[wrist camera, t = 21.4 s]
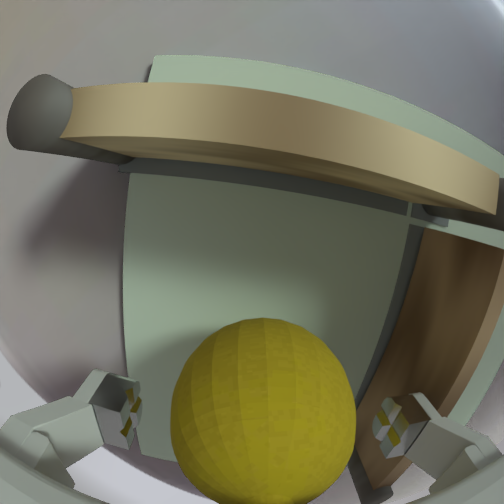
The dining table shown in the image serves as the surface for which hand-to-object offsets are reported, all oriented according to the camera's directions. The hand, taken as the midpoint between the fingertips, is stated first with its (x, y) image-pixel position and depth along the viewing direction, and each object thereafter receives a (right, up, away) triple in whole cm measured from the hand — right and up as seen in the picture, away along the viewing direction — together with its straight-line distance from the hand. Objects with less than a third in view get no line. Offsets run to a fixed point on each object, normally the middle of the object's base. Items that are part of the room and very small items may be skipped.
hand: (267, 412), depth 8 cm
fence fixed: (+1, +8, +2) cm, 9 cm away
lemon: (0, +1, +4) cm, 4 cm away
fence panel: (+6, 0, +4) cm, 7 cm away
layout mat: (+7, +1, +5) cm, 8 cm away
